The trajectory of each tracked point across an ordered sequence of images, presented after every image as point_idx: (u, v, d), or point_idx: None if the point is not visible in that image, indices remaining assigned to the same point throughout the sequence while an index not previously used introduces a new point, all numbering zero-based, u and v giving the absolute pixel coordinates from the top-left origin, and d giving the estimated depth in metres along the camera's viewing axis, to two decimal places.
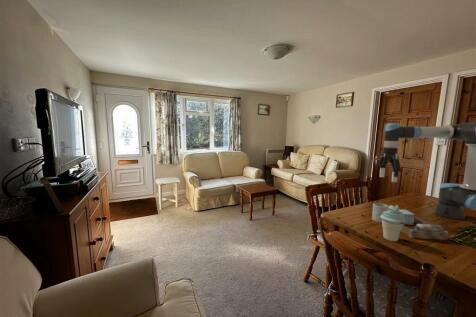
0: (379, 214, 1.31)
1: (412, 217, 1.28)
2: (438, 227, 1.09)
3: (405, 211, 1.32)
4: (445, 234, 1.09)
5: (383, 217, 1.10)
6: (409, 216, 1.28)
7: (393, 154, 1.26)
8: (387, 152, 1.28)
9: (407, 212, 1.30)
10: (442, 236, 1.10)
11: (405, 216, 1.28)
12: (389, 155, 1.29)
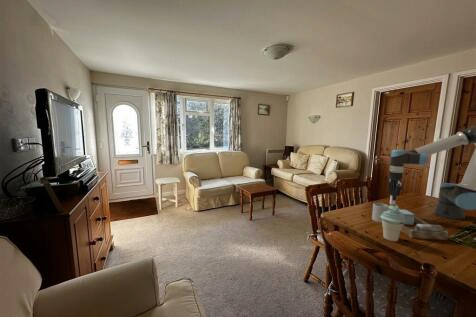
0: (379, 214, 1.31)
1: (412, 217, 1.28)
2: (438, 227, 1.09)
3: (405, 211, 1.32)
4: (445, 234, 1.09)
5: (383, 217, 1.10)
6: (409, 216, 1.28)
7: (398, 178, 1.36)
8: (393, 176, 1.38)
9: (407, 212, 1.30)
10: (442, 236, 1.10)
11: (405, 216, 1.28)
12: (394, 179, 1.39)
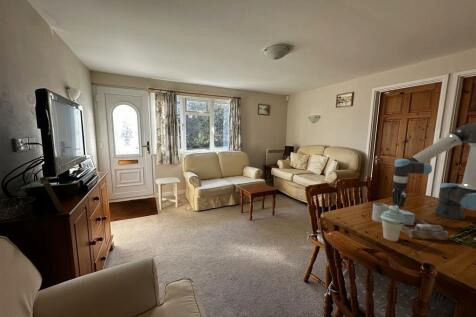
0: (379, 214, 1.31)
1: (412, 217, 1.27)
2: (438, 227, 1.09)
3: (405, 211, 1.31)
4: (445, 234, 1.09)
5: (383, 217, 1.10)
6: (409, 216, 1.27)
7: (402, 189, 1.32)
8: (397, 187, 1.34)
9: (407, 212, 1.30)
10: (442, 236, 1.10)
11: (405, 216, 1.27)
12: (398, 189, 1.34)
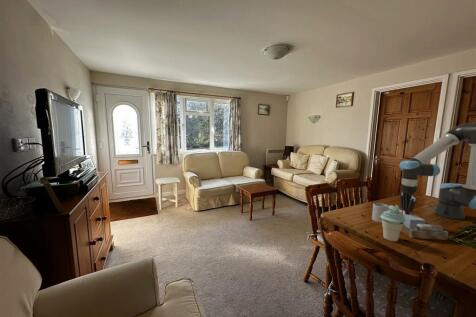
0: (379, 214, 1.31)
1: (423, 223, 1.18)
2: (438, 227, 1.09)
3: (415, 217, 1.23)
4: (445, 234, 1.09)
5: (383, 217, 1.10)
6: (419, 222, 1.19)
7: (412, 193, 1.23)
8: (405, 190, 1.25)
9: (417, 218, 1.21)
10: (442, 236, 1.10)
11: (415, 222, 1.19)
12: (407, 193, 1.26)
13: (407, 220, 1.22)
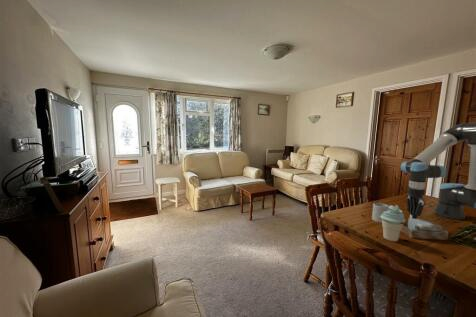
0: (379, 214, 1.31)
1: None
2: (438, 227, 1.09)
3: (423, 221, 1.17)
4: (445, 234, 1.09)
5: (383, 217, 1.10)
6: None
7: (420, 196, 1.17)
8: (413, 193, 1.19)
9: (425, 222, 1.15)
10: (442, 236, 1.10)
11: None
12: (415, 196, 1.20)
13: None
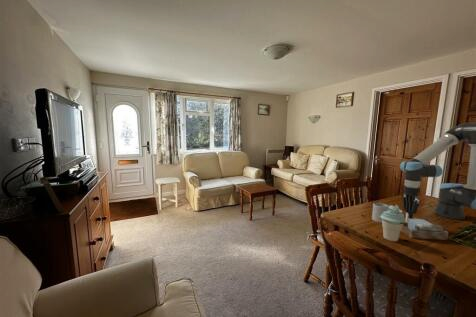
0: (379, 214, 1.31)
1: None
2: (438, 227, 1.09)
3: (423, 221, 1.17)
4: (445, 234, 1.09)
5: (383, 217, 1.10)
6: None
7: (415, 194, 1.21)
8: (409, 192, 1.23)
9: (425, 222, 1.15)
10: (442, 236, 1.10)
11: None
12: (411, 195, 1.24)
13: None
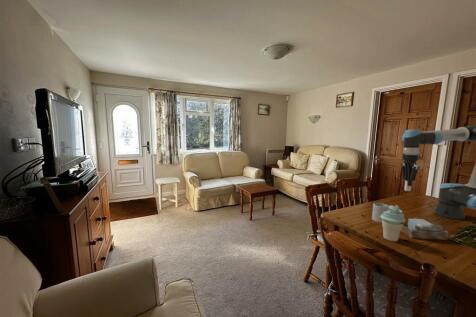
0: (379, 214, 1.31)
1: None
2: (438, 227, 1.09)
3: (423, 221, 1.17)
4: (445, 234, 1.09)
5: (383, 217, 1.10)
6: None
7: (414, 161, 1.22)
8: (407, 159, 1.24)
9: (425, 222, 1.15)
10: (442, 236, 1.10)
11: None
12: (409, 162, 1.25)
13: None
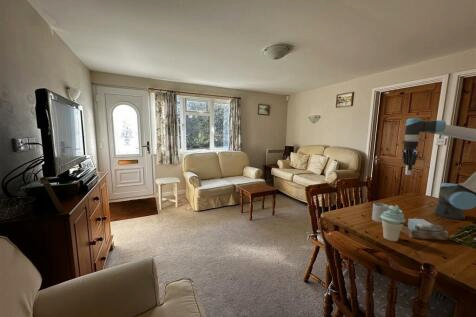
0: (379, 214, 1.31)
1: None
2: (438, 227, 1.09)
3: (423, 221, 1.17)
4: (445, 234, 1.09)
5: (383, 217, 1.10)
6: None
7: (414, 147, 1.34)
8: (408, 145, 1.36)
9: (425, 222, 1.15)
10: (442, 236, 1.10)
11: None
12: (410, 148, 1.37)
13: None
